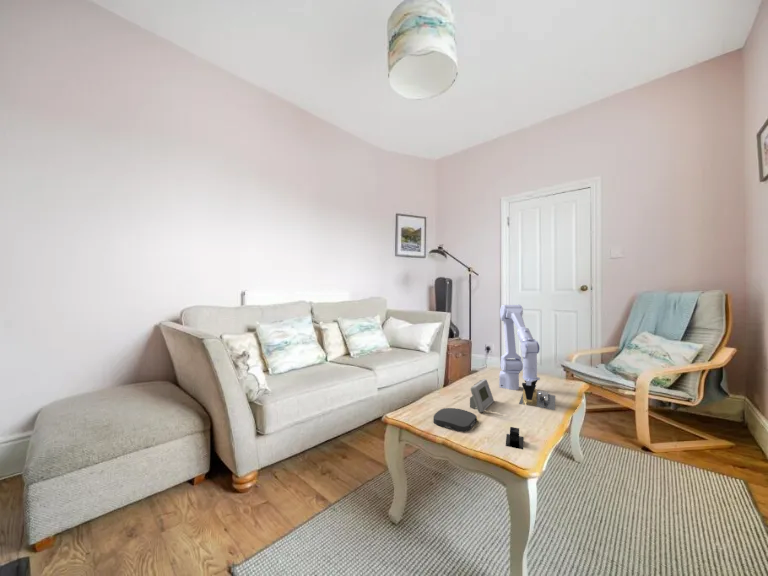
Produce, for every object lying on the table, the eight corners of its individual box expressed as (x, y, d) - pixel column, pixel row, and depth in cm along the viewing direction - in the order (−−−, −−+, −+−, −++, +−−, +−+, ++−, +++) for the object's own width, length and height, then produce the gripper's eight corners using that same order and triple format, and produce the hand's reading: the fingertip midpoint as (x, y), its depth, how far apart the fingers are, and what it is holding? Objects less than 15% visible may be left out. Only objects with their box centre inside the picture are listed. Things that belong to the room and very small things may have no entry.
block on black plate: (504, 433, 112) (504, 420, 112) (526, 437, 109) (526, 424, 109) (502, 449, 100) (502, 435, 100) (526, 454, 97) (526, 440, 97)
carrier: (519, 405, 137) (519, 396, 137) (523, 392, 154) (523, 384, 154) (554, 411, 130) (554, 402, 130) (555, 397, 147) (555, 389, 147)
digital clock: (481, 414, 127) (481, 389, 127) (462, 408, 134) (462, 384, 134) (500, 404, 138) (500, 381, 138) (482, 399, 144) (482, 377, 145)
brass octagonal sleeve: (522, 402, 139) (522, 391, 139) (523, 398, 143) (523, 387, 143) (536, 404, 136) (536, 393, 136) (537, 400, 141) (537, 389, 141)
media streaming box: (445, 411, 131) (445, 404, 131) (479, 420, 122) (479, 412, 122) (429, 424, 119) (430, 416, 119) (466, 434, 110) (466, 426, 110)
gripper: (538, 372, 131) (538, 403, 131) (540, 365, 144) (540, 393, 144) (520, 370, 135) (520, 400, 135) (524, 363, 147) (524, 391, 147)
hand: (529, 397), depth 140 cm, fingers open, 7 cm apart
